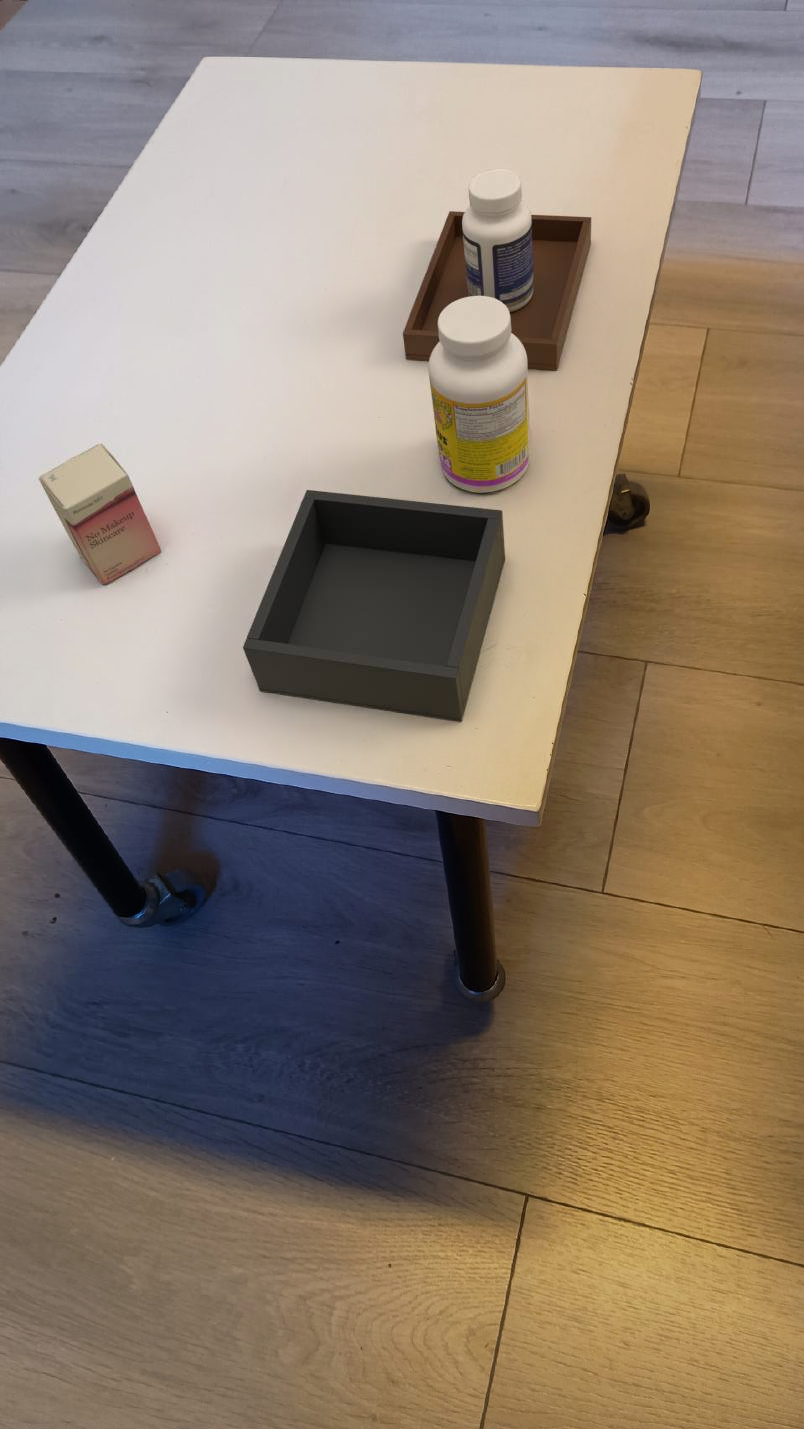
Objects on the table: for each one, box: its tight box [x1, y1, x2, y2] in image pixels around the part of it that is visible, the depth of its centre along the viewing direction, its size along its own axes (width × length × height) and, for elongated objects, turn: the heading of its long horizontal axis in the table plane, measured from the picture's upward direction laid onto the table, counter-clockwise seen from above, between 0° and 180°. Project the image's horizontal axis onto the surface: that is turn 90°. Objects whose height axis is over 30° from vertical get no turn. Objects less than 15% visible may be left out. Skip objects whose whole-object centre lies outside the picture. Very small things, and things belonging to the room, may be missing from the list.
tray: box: [402, 210, 592, 371], centre depth 91 cm, size 16×12×2 cm
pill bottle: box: [462, 168, 534, 312], centre depth 87 cm, size 5×5×10 cm
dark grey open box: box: [242, 489, 506, 723], centre depth 73 cm, size 14×14×5 cm
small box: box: [38, 443, 162, 585], centre depth 78 cm, size 5×4×8 cm
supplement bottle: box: [427, 296, 531, 494], centre depth 76 cm, size 7×7×13 cm
